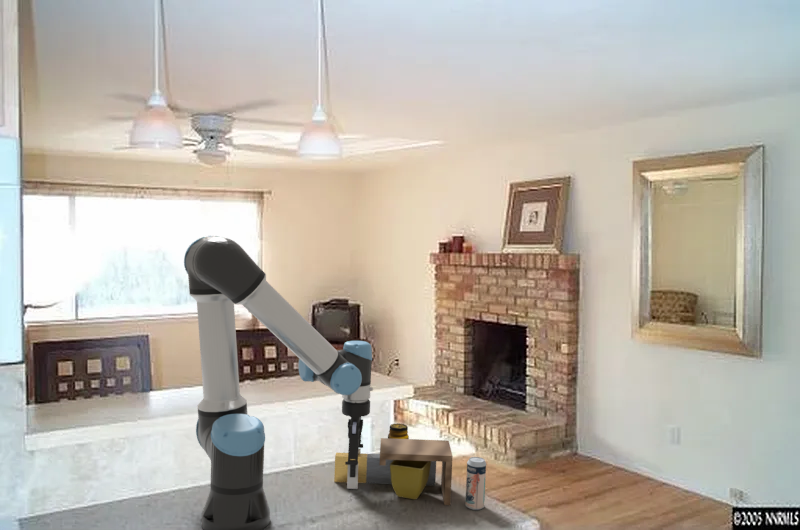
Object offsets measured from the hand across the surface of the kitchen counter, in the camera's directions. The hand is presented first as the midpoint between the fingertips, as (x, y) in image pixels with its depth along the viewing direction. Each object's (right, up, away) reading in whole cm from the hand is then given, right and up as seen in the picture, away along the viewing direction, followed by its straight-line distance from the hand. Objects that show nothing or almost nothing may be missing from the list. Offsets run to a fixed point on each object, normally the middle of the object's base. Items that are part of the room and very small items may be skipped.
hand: (353, 479), depth 180 cm
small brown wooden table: (+16, -1, -8) cm, 18 cm away
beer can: (+31, -2, -14) cm, 34 cm away
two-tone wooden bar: (+8, 0, 0) cm, 8 cm away
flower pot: (+15, -1, -8) cm, 17 cm away
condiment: (+11, 0, +12) cm, 16 cm away
